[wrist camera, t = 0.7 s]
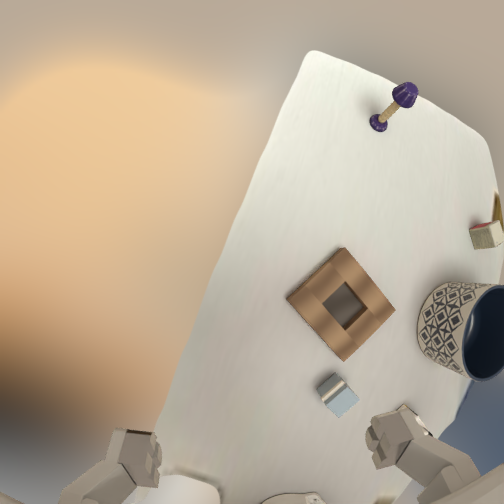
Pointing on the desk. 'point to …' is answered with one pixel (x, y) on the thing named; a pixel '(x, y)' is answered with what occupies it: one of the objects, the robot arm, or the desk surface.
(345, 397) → the key block
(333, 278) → the wooden socket board
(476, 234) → the small box
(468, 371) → the planter
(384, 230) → the desk surface
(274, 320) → the desk surface
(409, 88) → the toy lamp
